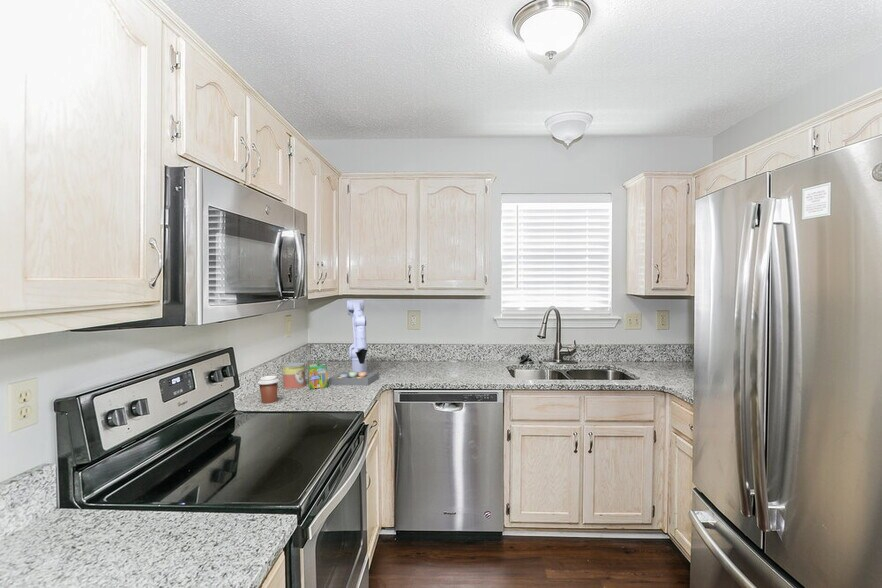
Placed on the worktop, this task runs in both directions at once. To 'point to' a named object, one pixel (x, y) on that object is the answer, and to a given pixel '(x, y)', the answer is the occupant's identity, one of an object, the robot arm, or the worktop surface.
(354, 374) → the button sage
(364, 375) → the button terracotta
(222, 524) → the worktop surface
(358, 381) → the console
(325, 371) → the chalk box
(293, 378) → the canned food
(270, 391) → the coffee cup
